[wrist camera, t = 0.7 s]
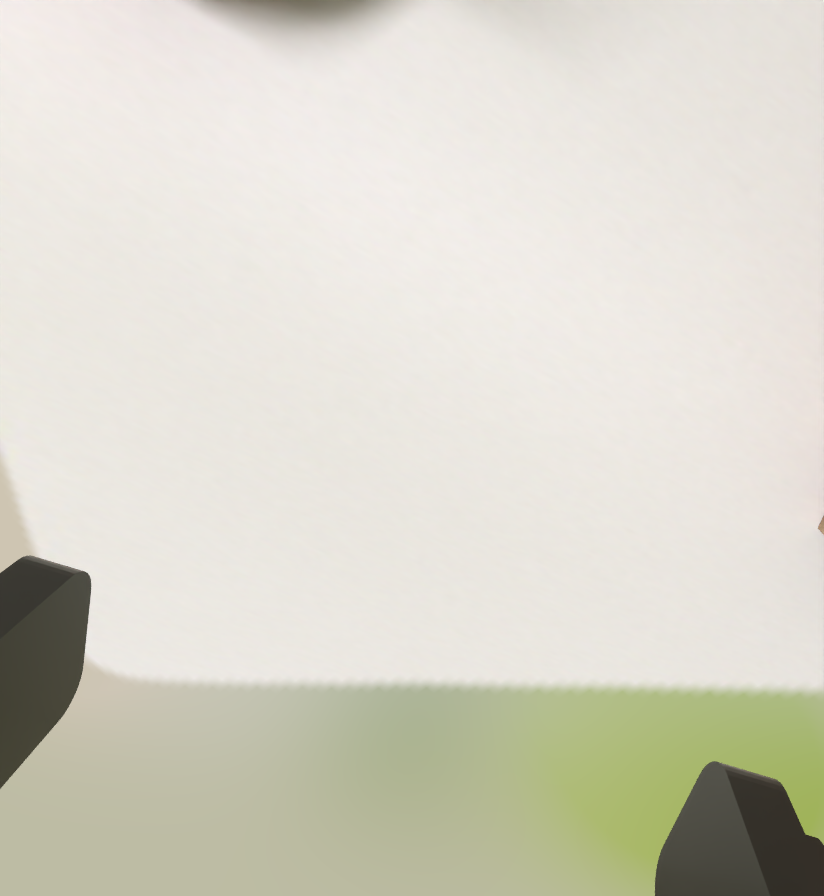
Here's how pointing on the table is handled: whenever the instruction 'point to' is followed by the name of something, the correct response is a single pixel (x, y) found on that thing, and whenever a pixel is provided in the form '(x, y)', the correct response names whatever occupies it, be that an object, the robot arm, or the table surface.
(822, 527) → the block
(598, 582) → the table surface
